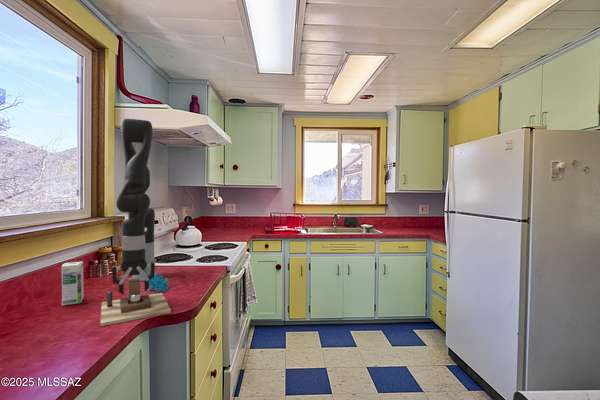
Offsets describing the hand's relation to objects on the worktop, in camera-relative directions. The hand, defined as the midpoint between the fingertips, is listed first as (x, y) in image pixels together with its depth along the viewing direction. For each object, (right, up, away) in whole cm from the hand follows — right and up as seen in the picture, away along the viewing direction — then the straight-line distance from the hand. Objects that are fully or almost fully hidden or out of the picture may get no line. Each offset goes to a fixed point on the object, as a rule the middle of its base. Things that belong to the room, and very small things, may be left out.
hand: (134, 292), depth 110 cm
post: (+3, -4, -5) cm, 7 cm away
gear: (+2, -4, +14) cm, 15 cm away
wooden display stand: (+2, -3, -3) cm, 5 cm away
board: (+3, -4, -5) cm, 7 cm away
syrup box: (-23, -4, +1) cm, 23 cm away
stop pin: (-6, -4, -5) cm, 9 cm away
